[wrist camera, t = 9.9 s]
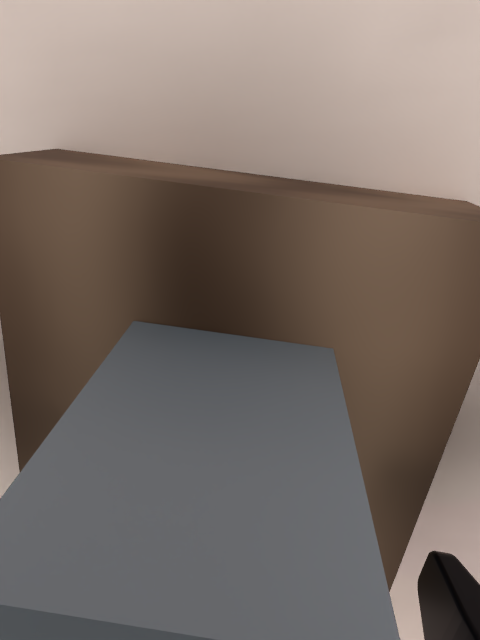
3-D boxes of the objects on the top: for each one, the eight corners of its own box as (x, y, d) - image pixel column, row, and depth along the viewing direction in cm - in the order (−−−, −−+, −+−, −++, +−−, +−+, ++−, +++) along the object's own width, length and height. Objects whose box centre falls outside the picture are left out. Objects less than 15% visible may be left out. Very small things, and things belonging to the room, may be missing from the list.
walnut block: (461, 198, 13) (529, 228, 9) (366, 499, 18) (387, 595, 14) (63, 148, 13) (-20, 157, 10) (79, 454, 18) (27, 536, 15)
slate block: (333, 348, 11) (406, 670, 4) (299, 498, 13) (316, 864, 7) (133, 321, 11) (-71, 592, 5) (131, 472, 13) (-11, 804, 7)
